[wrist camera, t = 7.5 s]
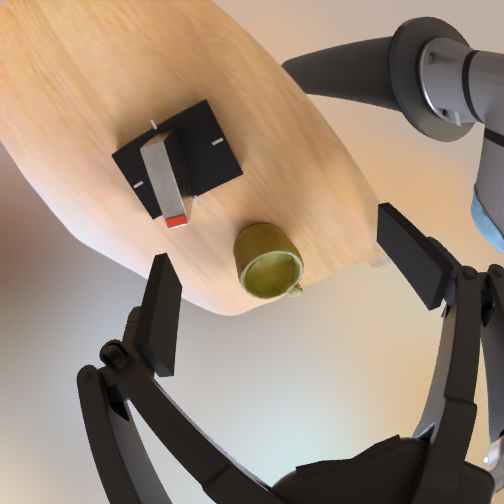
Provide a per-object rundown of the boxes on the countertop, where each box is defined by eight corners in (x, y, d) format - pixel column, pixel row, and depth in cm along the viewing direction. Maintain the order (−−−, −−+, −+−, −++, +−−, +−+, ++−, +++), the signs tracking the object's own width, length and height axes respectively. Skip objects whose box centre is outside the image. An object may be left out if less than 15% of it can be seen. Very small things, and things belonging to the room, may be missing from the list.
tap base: (202, 91, 30) (202, 92, 28) (245, 175, 38) (247, 181, 35) (113, 144, 32) (106, 148, 30) (159, 217, 39) (157, 226, 37)
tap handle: (157, 133, 30) (138, 149, 22) (175, 127, 30) (162, 141, 22) (177, 196, 35) (167, 230, 28) (194, 191, 35) (189, 224, 28)
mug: (208, 246, 41) (238, 286, 34) (260, 203, 42) (301, 233, 34) (244, 286, 49) (274, 323, 42) (287, 250, 50) (323, 281, 43)
